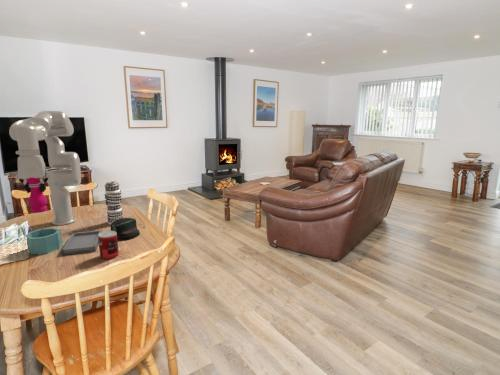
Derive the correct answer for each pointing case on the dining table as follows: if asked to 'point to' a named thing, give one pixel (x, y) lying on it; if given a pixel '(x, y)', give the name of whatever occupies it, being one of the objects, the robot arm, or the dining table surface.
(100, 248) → the canned food
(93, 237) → the tray
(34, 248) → the crock
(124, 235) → the black hat
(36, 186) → the pepper mill
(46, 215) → the dining table surface
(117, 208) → the gray white banded cylinder
